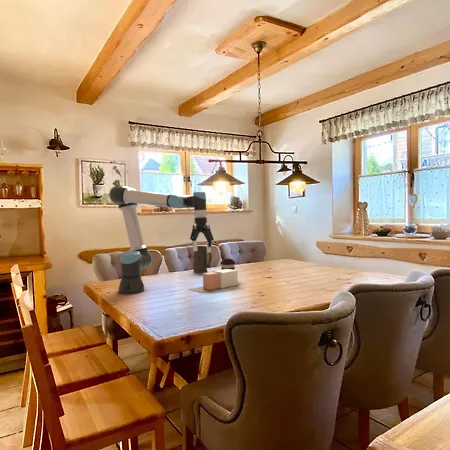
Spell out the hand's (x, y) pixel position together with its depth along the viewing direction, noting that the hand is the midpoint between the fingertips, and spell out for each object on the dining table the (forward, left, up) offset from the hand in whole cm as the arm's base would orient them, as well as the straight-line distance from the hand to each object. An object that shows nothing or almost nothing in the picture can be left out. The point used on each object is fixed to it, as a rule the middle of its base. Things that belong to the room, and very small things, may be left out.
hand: (202, 251), depth 217 cm
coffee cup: (+24, +3, -23) cm, 33 cm away
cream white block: (+12, -7, -21) cm, 26 cm away
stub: (+1, -7, -21) cm, 23 cm away
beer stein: (+36, +46, -23) cm, 62 cm away
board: (+4, -7, -22) cm, 24 cm away
